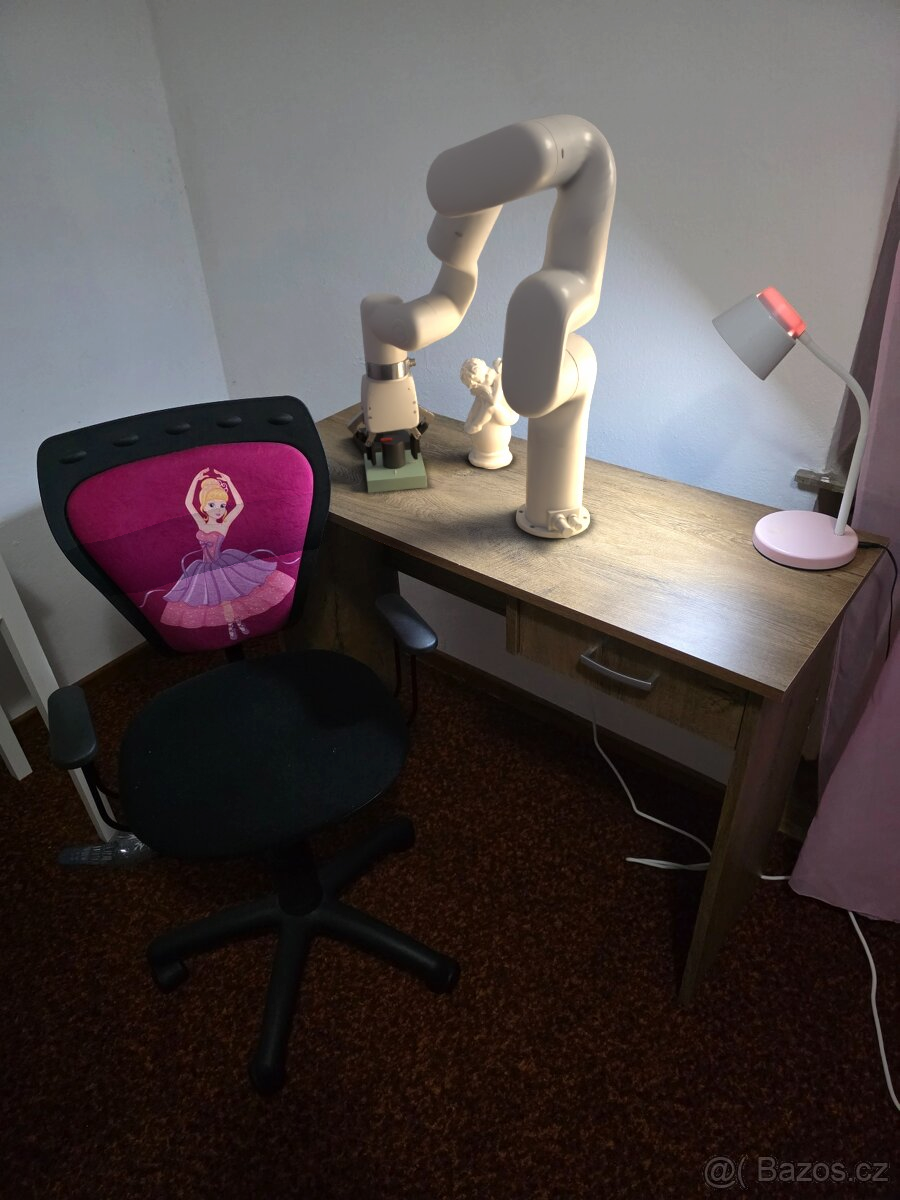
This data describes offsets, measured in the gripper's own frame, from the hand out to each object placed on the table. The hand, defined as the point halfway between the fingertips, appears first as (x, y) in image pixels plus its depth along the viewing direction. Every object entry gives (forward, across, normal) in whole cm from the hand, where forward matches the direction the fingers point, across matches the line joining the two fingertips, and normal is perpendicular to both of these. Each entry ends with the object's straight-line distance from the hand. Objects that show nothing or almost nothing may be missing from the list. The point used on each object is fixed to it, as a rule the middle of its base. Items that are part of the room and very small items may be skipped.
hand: (393, 459), depth 152 cm
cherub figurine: (+4, -21, -2) cm, 21 cm away
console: (+4, 0, 0) cm, 4 cm away
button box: (+4, -1, -15) cm, 15 cm away
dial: (+1, 0, 0) cm, 1 cm away
